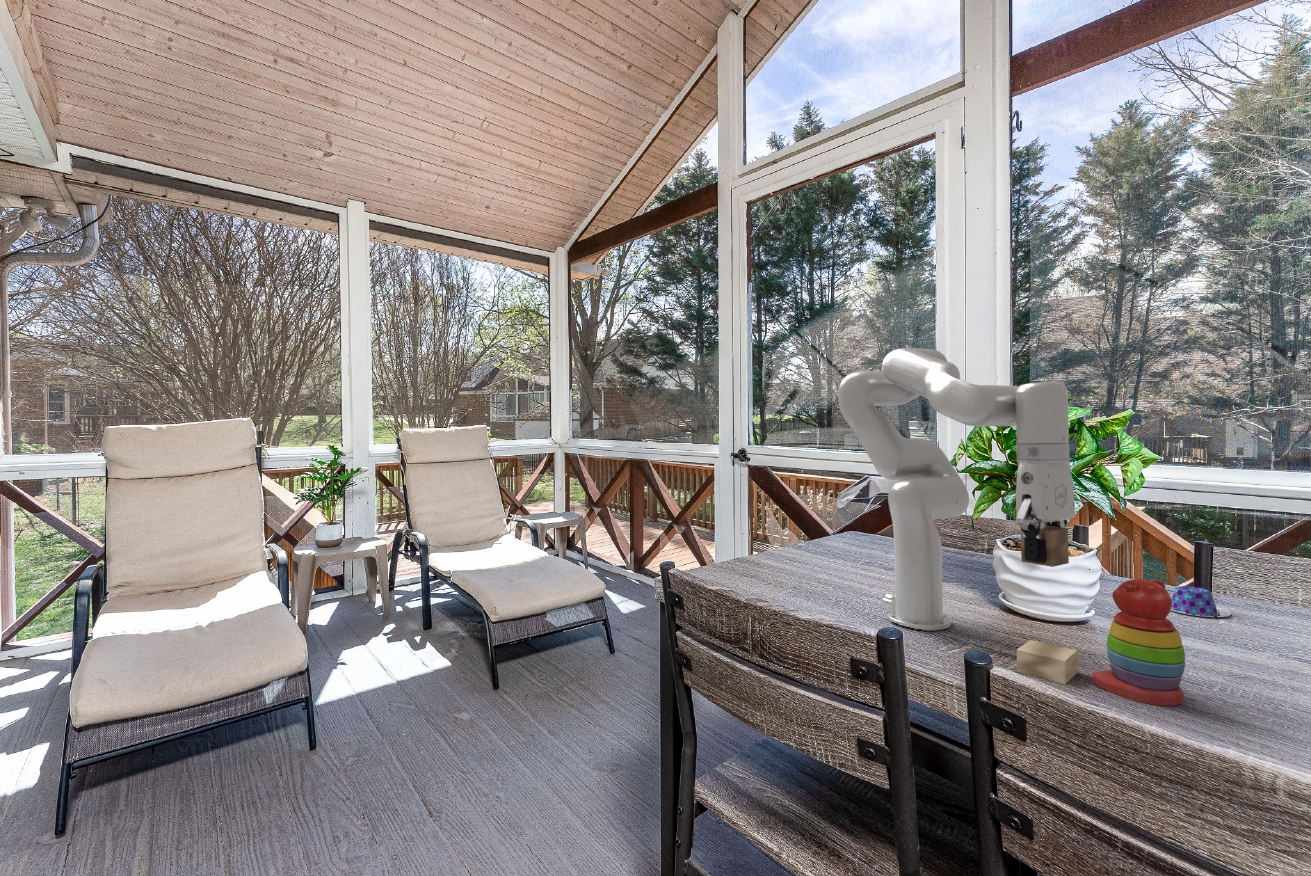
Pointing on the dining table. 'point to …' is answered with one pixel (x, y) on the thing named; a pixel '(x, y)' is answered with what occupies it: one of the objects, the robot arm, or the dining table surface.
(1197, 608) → the blue patterned hat
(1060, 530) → the walnut block
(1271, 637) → the dining table surface
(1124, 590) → the stacking bear
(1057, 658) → the oak block
